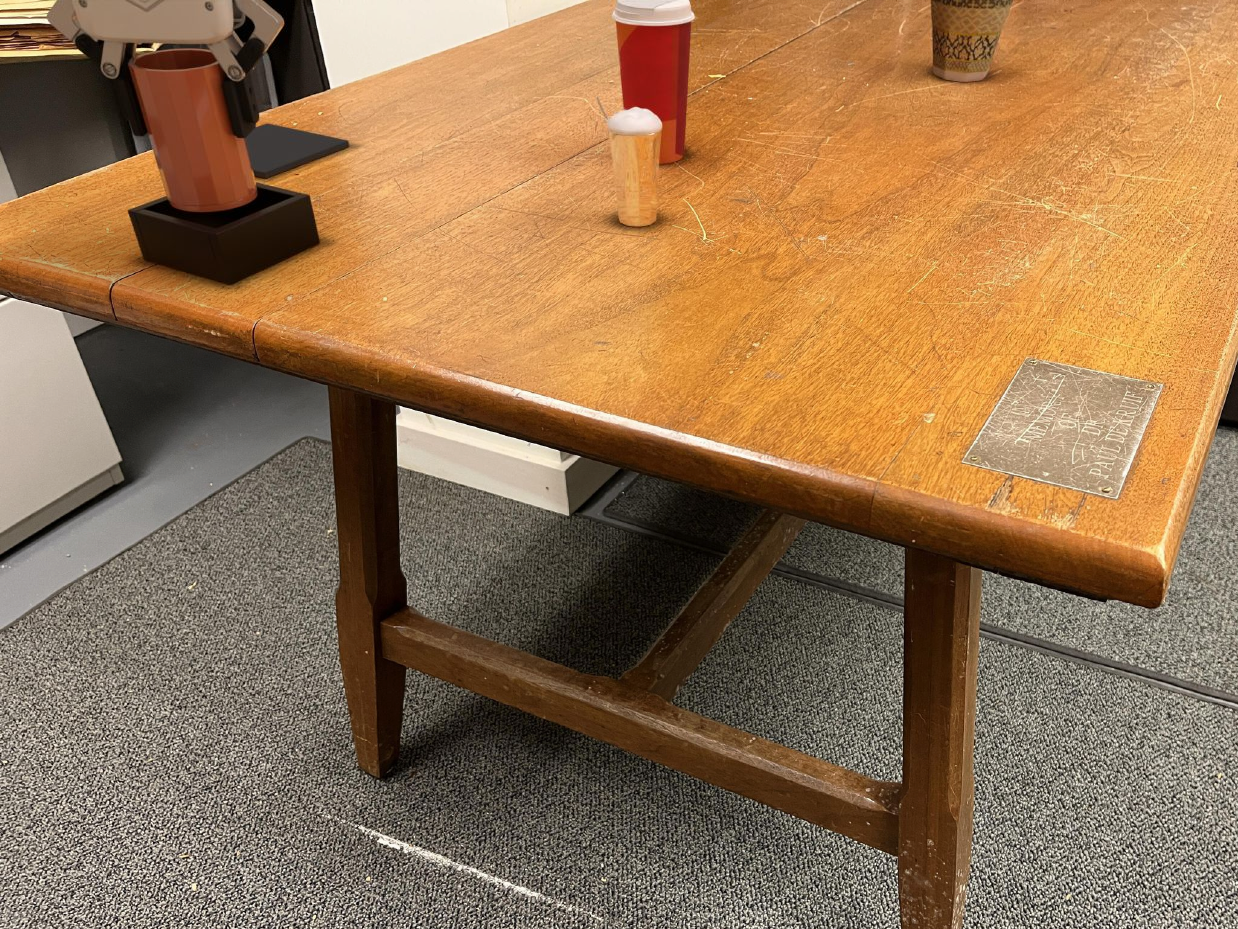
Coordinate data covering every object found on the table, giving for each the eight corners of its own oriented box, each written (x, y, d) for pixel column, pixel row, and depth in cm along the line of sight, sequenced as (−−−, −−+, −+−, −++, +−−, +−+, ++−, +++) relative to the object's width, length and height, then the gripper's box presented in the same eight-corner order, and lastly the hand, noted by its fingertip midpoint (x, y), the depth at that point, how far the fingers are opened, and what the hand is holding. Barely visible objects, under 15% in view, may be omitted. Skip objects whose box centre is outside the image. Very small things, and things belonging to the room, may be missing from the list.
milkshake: (608, 208, 94) (603, 89, 88) (667, 212, 93) (666, 93, 87) (596, 227, 90) (590, 105, 84) (658, 231, 90) (656, 109, 84)
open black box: (143, 259, 83) (126, 209, 81) (236, 221, 90) (224, 174, 87) (230, 285, 80) (215, 233, 77) (320, 243, 86) (309, 194, 84)
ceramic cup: (992, 89, 128) (1007, -3, 121) (911, 79, 130) (922, -11, 124) (1010, 64, 137) (1026, -22, 131) (935, 56, 140) (946, -29, 134)
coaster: (181, 158, 102) (179, 152, 101) (268, 128, 110) (267, 122, 109) (265, 178, 98) (264, 172, 98) (349, 146, 106) (348, 140, 105)
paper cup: (659, 137, 110) (656, -12, 101) (710, 156, 106) (712, 1, 97) (600, 153, 106) (592, -1, 97) (651, 173, 101) (648, 13, 93)
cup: (150, 201, 81) (107, 62, 75) (216, 177, 85) (182, 44, 79) (210, 218, 79) (172, 76, 73) (275, 192, 83) (244, 56, 77)
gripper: (-51, -154, 65) (54, 145, 76) (240, -143, 66) (301, 150, 77) (9, -165, 70) (97, 114, 81) (275, -155, 71) (327, 119, 82)
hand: (196, 129), depth 79 cm, fingers closed on cup, 6 cm apart
